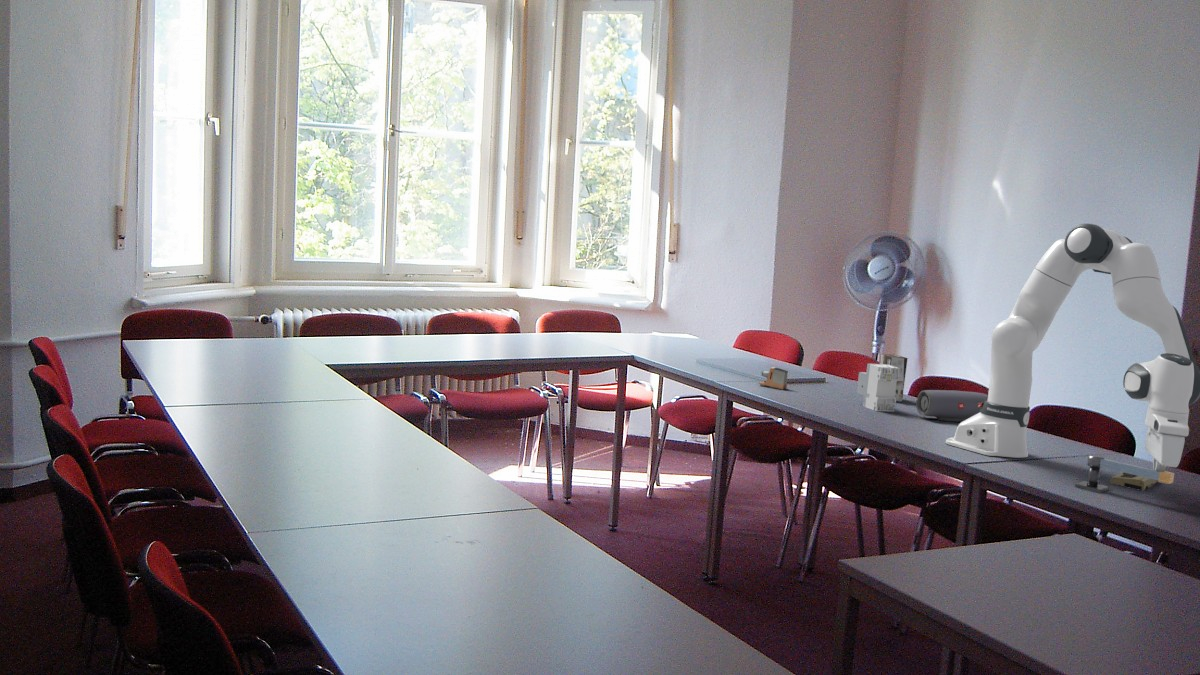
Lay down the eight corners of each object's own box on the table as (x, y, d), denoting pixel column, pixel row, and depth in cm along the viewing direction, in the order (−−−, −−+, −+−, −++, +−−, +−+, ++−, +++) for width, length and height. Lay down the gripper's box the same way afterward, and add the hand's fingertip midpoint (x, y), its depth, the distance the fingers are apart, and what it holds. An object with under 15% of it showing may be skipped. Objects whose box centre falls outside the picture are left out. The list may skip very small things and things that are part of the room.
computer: (1125, 476, 277) (1127, 465, 277) (1158, 484, 272) (1160, 471, 272) (1109, 485, 265) (1111, 472, 265) (1143, 492, 260) (1145, 480, 260)
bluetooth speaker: (927, 421, 334) (931, 391, 333) (913, 415, 343) (917, 386, 342) (990, 424, 339) (994, 394, 338) (974, 418, 348) (978, 389, 347)
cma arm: (1084, 464, 257) (1086, 455, 257) (1090, 463, 260) (1092, 454, 259) (1168, 484, 243) (1169, 474, 243) (1173, 482, 245) (1175, 472, 245)
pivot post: (1075, 486, 258) (1078, 465, 257) (1084, 483, 262) (1087, 463, 261) (1099, 492, 253) (1103, 471, 253) (1108, 489, 258) (1111, 468, 257)
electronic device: (762, 384, 383) (764, 364, 382) (787, 389, 378) (789, 369, 377) (758, 386, 379) (760, 366, 378) (783, 390, 375) (785, 370, 374)
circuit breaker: (871, 403, 362) (876, 361, 360) (894, 411, 348) (899, 368, 347) (852, 402, 359) (857, 360, 358) (875, 411, 346) (881, 367, 344)
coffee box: (902, 401, 371) (908, 358, 369) (886, 400, 370) (891, 356, 368) (892, 397, 380) (897, 354, 378) (875, 396, 379) (880, 353, 377)
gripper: (1142, 412, 258) (1134, 465, 260) (1161, 426, 238) (1152, 484, 240) (1170, 416, 256) (1162, 469, 258) (1191, 430, 237) (1181, 488, 238)
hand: (1157, 477), depth 249 cm, fingers closed
